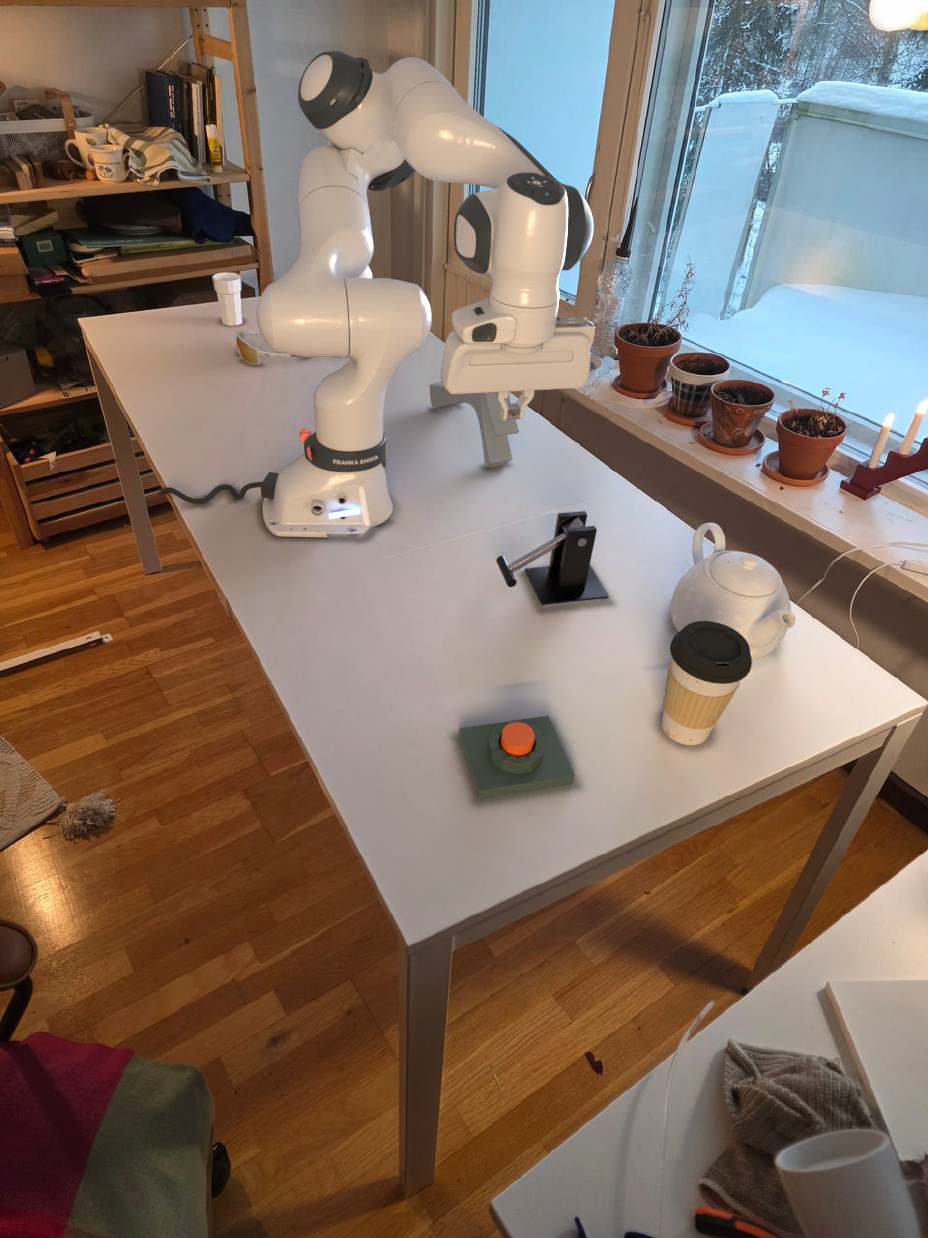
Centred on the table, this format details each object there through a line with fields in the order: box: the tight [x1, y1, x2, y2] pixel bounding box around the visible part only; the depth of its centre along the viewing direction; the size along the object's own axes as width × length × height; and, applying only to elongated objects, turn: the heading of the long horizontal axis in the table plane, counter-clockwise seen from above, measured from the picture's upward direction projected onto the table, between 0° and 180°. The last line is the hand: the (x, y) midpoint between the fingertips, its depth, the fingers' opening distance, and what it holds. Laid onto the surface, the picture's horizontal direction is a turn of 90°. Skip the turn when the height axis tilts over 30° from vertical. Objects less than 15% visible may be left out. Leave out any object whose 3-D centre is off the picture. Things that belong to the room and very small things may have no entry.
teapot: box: [669, 522, 796, 661], centre depth 119 cm, size 19×18×14 cm
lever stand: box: [524, 510, 610, 606], centre depth 124 cm, size 11×9×13 cm
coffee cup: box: [661, 621, 753, 746], centre depth 102 cm, size 10×10×15 cm
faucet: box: [429, 381, 520, 468], centre depth 161 cm, size 6×17×30 cm
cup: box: [211, 271, 243, 327], centre depth 200 cm, size 7×7×11 cm
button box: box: [458, 715, 575, 800], centre depth 99 cm, size 12×10×4 cm
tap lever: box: [495, 518, 584, 588], centre depth 121 cm, size 14×6×2 cm
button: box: [501, 722, 535, 756], centre depth 98 cm, size 4×4×2 cm
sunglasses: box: [235, 329, 307, 366], centre depth 189 cm, size 14×15×5 cm
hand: (511, 417), depth 112 cm, fingers closed
